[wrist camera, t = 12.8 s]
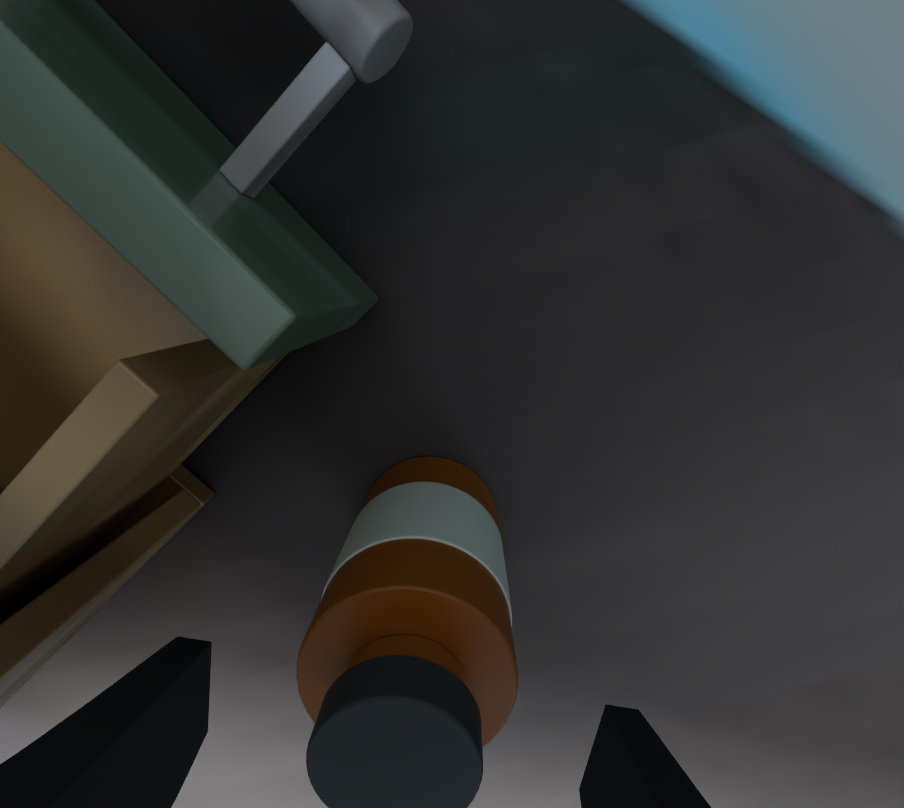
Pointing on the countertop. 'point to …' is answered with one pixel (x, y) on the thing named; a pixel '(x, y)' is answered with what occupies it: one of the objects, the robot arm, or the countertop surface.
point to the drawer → (145, 266)
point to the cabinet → (95, 580)
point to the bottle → (411, 645)
